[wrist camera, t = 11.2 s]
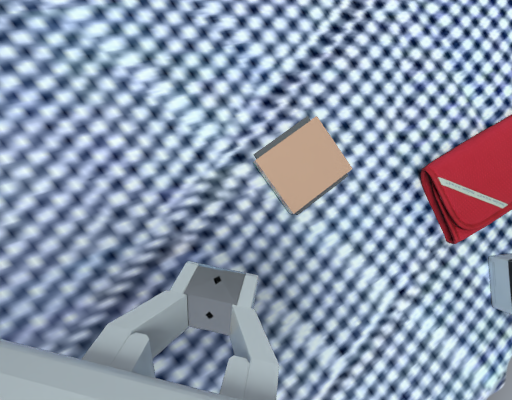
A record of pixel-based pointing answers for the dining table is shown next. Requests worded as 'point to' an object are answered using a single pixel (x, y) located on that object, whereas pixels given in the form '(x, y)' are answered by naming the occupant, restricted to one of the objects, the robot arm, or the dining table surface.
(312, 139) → the tile
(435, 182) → the dish drying mat
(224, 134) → the dining table surface
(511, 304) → the tea box
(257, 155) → the mat
